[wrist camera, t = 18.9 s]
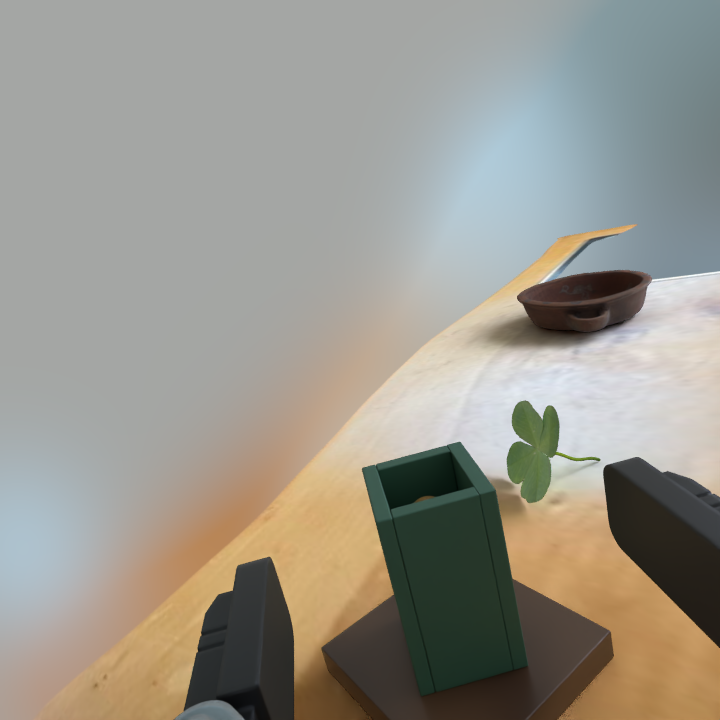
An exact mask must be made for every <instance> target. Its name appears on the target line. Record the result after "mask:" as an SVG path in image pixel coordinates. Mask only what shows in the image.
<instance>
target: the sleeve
mask: <svg viewBox="0 0 720 720" xmlns="http://www.w3.org/2000/svg"><path fill="white" fill-rule="evenodd" d="M362 472H363V475H364V479H365V483H366V487H367V491H368V495H369V499H370V503H371V507H372V510H373V514H374V518H375V522H376V526H377V530H378V534H379V538H380V542H381V545H382V549H383V553H384V557H385V561H386V565H387V569H388V573H389V577H390V580H391V584H392V588H393V592H394V596H395V600H396V604H397V608H398V611H399V615H400V619H401V623H402V627H403V631H404V635H405V639H406V642H407V646H408V650H409V654H410V658H411V662H412V666H413V670H414V674H415V677H416V681H417V685H418V689H419V693H420V695H421V696H425V695H428V694H432V693H434V692H435V691H436V692H439V691H443V690H446V689H450V688H453V687H457V686H460V685H464V684H467V683H470V682H474V681H477V680H481V679H484V678H488V677H491V676H495V675H498V674H502V673H505V672H509V671H512V670H513V669H514V670H516V669H519V668H523V667H526V666H528V661H527V655H526V650H525V645H524V639H523V634H522V628H521V623H520V618H519V612H518V607H517V601H516V596H515V591H514V585H513V580H512V575H511V569H510V564H509V558H508V553H507V548H506V542H505V537H504V531H503V526H502V521H501V515H500V510H499V504H498V499H497V494H496V490H495V488H494V487H493V486H492V484H491V483H490V482H489V480H488V479H487V478H486V476H485V475H484V473H483V472H482V471H481V469H480V468H479V467H478V465H477V464H476V463H475V461H474V460H473V458H472V457H471V456H470V454H469V453H468V452H467V450H466V449H465V448H464V446H463V445H462V443H461V442H457V443H453V444H449V445H447V446H443V447H439V448H435V449H431V450H428V451H424V452H420V453H416V454H413V455H409V456H405V457H401V458H398V459H394V460H390V461H386V462H383V463H379V464H376V465H372V466H368V467H364V468H362ZM423 496H434V498H431V499H427V500H423V501H420V502H416V503H414V502H415V501H416V500H417V499H419V498H421V497H423Z"/></svg>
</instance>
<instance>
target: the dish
mask: <svg viewBox="0 0 720 720" xmlns="http://www.w3.org/2000/svg"><path fill="white" fill-rule="evenodd" d="M651 281H652V278H651V276H650V275H648V274H646V273H643V272H638V271H630V270H614V271H603V272H593V273H583V274H577V275H571V276H567V277H563V278H559V279H555V280H552V281H548V282H545V283H541V284H538V285H535V286H533V287H530V288H528V289H526V290H524V291H523V292H521V293H520V294H519V295H518V296H517V299H518V301H519V302H520V303H522V304H523V306H524V308H525V310H526V312H527V314H528V316H529V317H530V319H531V320H532V321H533V323H534V324H535V325H537V326H539V327H543V328H548V329H555V330H576V331H580V332H592V331H597V330H600V329H602V328H604V327H605V326H607V325H612V324H615V323H618V322H621V321H624V320H626V319H628V318H630V317H632V316H633V315H635V314H636V313H637V312H639V311H640V309H641V308H642V306H643V304H644V300H645V296H646V290H647V286H648V285H649V284H650V283H651Z"/></svg>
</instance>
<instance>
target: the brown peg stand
mask: <svg viewBox="0 0 720 720" xmlns="http://www.w3.org/2000/svg"><path fill="white" fill-rule="evenodd" d="M431 498H434V496H423V497H421V498H419V499H417V500H416V501H415V502H414V503H416V502H420V501H423V500H427V499H431ZM512 580H513V585H514V591H515V596H516V601H517V607H518V612H519V618H520V623H521V628H522V634H523V639H524V645H525V650H526V655H527V661H528V666H526V667H523V668H519V669H516V670H514V669H513V670H512V671H509V672H505V673H502V674H498V675H495V676H491V677H488V678H484V679H481V680H477V681H474V682H470V683H467V684H464V685H460V686H457V687H453V688H450V689H446V690H443V691H439V692H436V691H435V692H434V693H432V694H428V695H425V696H421V695H420V693H419V689H418V685H417V681H416V677H415V674H414V670H413V666H412V662H411V658H410V654H409V650H408V646H407V642H406V639H405V635H404V631H403V627H402V623H401V619H400V615H399V611H398V608H397V604H396V600H395V596H394V595H393V596H391V597H390V598H389V599H387V600H386V601H384V602H383V603H382V604H380V605H379V606H378V607H376V608H375V609H374V610H372V611H371V612H369V613H368V614H367V615H365V616H364V617H363V618H361V619H360V620H358V621H357V622H356V623H354V624H353V625H352V626H350V627H349V628H348V629H346V630H345V631H343V632H342V633H341V634H339V635H338V636H337V637H335V638H334V639H333V640H331V641H330V642H328V643H327V644H326V645H324V646H323V647H322V648H321V649H322V653H323V656H324V659H325V662H326V665H327V669H328V671H329V672H330V673H331V674H332V675H333V676H334V677H335V678H336V679H337V680H338V682H339V683H340V684H341V685H342V686H343V687H344V688H345V689H346V690H347V691H348V692H349V694H350V695H351V696H352V697H353V698H354V699H355V700H356V701H357V702H358V703H359V704H360V706H361V707H362V708H363V709H364V710H365V711H366V712H367V713H368V714H369V715H370V716H371V718H372V719H373V720H557V719H558V717H559V716H560V715H561V714H562V713H563V712H564V711H565V710H566V709H567V707H568V706H569V705H570V704H571V703H572V702H573V701H574V700H575V699H576V697H577V696H578V695H579V694H580V693H581V692H582V691H583V690H584V689H585V688H586V686H587V685H588V684H589V683H590V682H591V681H592V680H593V679H594V678H595V676H596V675H597V674H598V673H599V672H600V671H601V670H602V669H603V668H604V666H605V665H606V664H607V663H608V662H609V661H610V660H611V659H612V658H613V656H614V654H613V646H612V639H611V632H610V631H609V630H607V629H606V628H604V627H602V626H600V625H598V624H596V623H594V622H593V621H591V620H589V619H587V618H585V617H583V616H581V615H579V614H578V613H576V612H574V611H572V610H570V609H568V608H566V607H564V606H563V605H561V604H559V603H557V602H555V601H553V600H551V599H549V598H548V597H546V596H544V595H542V594H540V593H538V592H536V591H535V590H533V589H531V588H529V587H527V586H525V585H523V584H521V583H520V582H518V581H516V580H514V579H512Z"/></svg>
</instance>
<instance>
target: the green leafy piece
mask: <svg viewBox="0 0 720 720" xmlns="http://www.w3.org/2000/svg"><path fill="white" fill-rule="evenodd" d="M512 426H513V429H514V431H515V432H516V434H517V435H518V436H519V438H521V439H523V440H524V441H526V442H527V443H529V444H531V445H532V446H530V445H528V444H525V443H523V442H521V441H520V442H516V443H514V444H512V446H511V448H510V450H509V453H508V456H507V467H508V475H509V478H510V479H511V481H512V482H514V483H515V484H516V483H517V484H519V483H520V482H522V481H523V480H524V481H523V483H522V486H521V496H522V497H523V498H524V499H526V500H527V502H528V503H532V502H537V501H539V500H541V499H542V498H543V497H544V495H545V494H546V492H547V489H548V487H549V485H550V480H551V464H550V460H549V458H550V457H552V458H553V456H554V455H559V456H562V457H565V458H567V459H570V460H574V461H584V460H596V461H600V459H599V458H596V457H586V458H573V457H570V456H567V455H565V454H562V453H559V452H556V451H557V447H558V440H559V419H558V415H557V412H556V410H555V409H554V407H553V406H550V405H549V406H547V407H546V409H545V411H544V415H543V421H542V419H541V417H540V416H539V414H538V413H537V412H536V411H535V409H533V407H532V405H531V404H530V403H529V402H528V401H521V402H519V403H518V404H517V405H516V406H515V408H514V412H513V414H512ZM545 454H546V455H547V456H546V455H545ZM548 457H549V458H548Z"/></svg>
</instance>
